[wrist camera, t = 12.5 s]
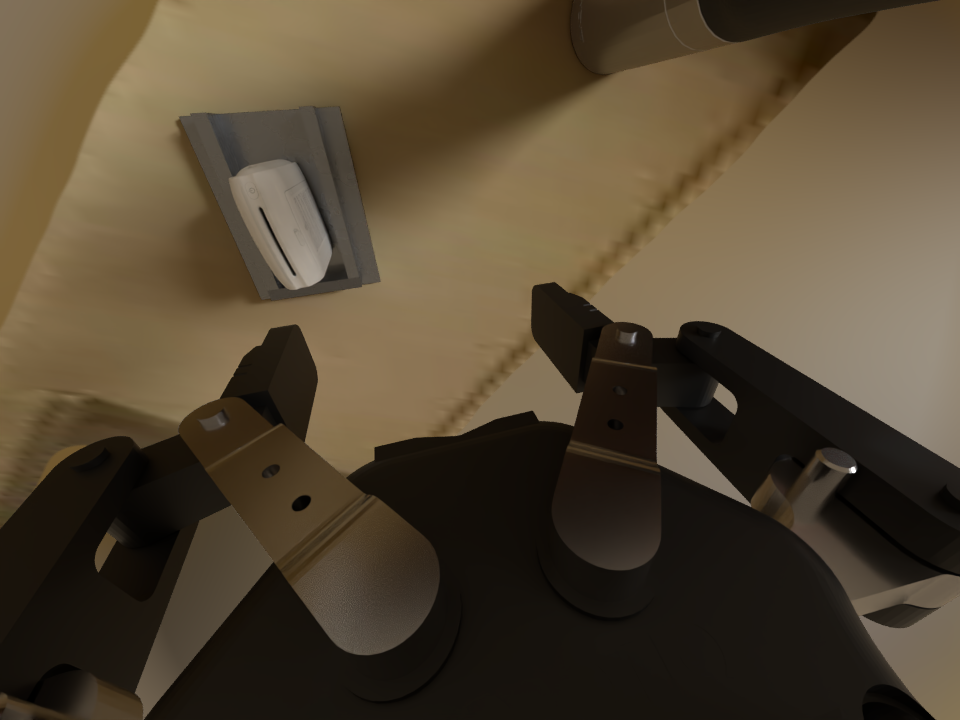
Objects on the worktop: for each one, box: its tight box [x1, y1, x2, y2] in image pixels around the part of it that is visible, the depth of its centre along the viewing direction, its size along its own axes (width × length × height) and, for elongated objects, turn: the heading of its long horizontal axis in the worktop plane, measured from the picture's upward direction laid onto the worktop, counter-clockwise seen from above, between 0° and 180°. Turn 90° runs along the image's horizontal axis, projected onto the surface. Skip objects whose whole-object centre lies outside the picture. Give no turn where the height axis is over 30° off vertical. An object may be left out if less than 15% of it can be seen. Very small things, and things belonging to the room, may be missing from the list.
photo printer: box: [229, 159, 333, 290], centre depth 33 cm, size 10×4×12 cm, turn 10°
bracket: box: [179, 106, 380, 301], centre depth 37 cm, size 14×18×4 cm
